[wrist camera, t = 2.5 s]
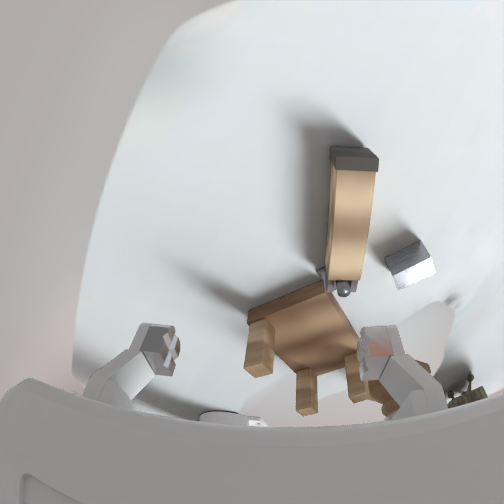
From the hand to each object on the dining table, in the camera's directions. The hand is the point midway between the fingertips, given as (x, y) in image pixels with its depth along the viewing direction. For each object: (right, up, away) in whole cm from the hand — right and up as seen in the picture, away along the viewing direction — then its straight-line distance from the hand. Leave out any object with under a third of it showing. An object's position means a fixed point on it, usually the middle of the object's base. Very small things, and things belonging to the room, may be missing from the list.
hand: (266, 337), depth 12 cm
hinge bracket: (+9, +1, +23) cm, 25 cm away
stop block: (+18, +3, +20) cm, 27 cm away
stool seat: (+8, -8, +29) cm, 31 cm away
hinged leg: (+9, +7, +18) cm, 21 cm away
